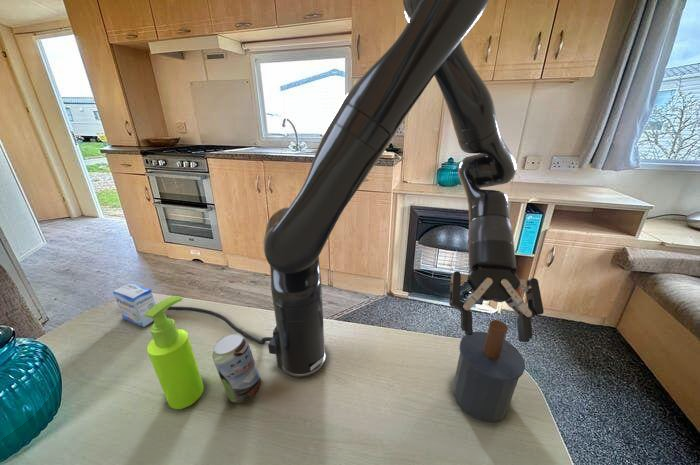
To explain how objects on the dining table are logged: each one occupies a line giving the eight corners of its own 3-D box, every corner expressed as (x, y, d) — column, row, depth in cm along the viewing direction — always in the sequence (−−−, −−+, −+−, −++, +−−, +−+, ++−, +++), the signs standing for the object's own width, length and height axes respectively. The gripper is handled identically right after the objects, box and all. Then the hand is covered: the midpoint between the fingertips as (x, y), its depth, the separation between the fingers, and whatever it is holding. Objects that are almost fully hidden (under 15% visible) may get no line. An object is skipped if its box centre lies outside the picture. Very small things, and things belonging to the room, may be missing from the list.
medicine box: (123, 319, 70) (111, 291, 67) (140, 308, 74) (130, 281, 71) (143, 327, 68) (132, 299, 64) (161, 316, 72) (151, 288, 68)
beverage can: (251, 410, 49) (241, 361, 44) (215, 402, 50) (200, 353, 46) (268, 379, 55) (260, 332, 50) (234, 373, 56) (224, 327, 51)
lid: (465, 378, 44) (473, 344, 41) (454, 333, 53) (460, 302, 50) (533, 389, 42) (547, 354, 39) (510, 340, 51) (520, 309, 48)
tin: (457, 417, 48) (467, 374, 44) (449, 372, 56) (457, 332, 52) (514, 426, 47) (530, 383, 42) (497, 379, 55) (510, 339, 51)
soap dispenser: (214, 380, 55) (191, 297, 46) (185, 413, 49) (152, 325, 40) (191, 372, 56) (165, 290, 48) (160, 403, 50) (124, 316, 42)
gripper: (454, 235, 49) (456, 332, 43) (543, 241, 46) (557, 344, 41) (446, 248, 56) (446, 333, 50) (522, 254, 53) (532, 344, 48)
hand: (496, 338), depth 45 cm, fingers open, 8 cm apart
